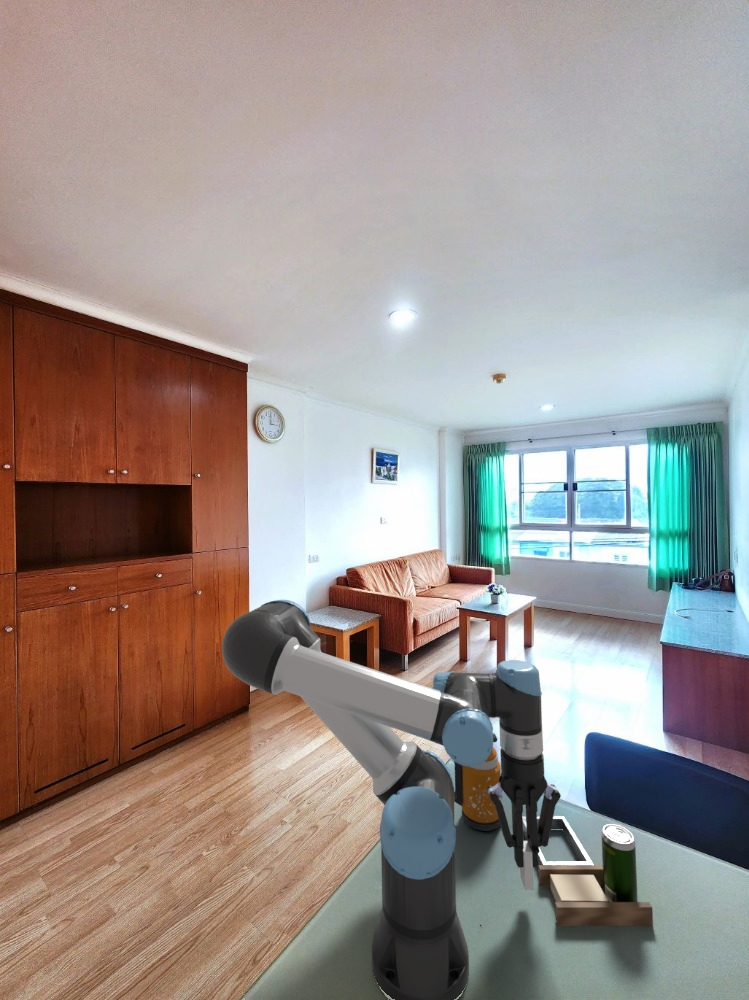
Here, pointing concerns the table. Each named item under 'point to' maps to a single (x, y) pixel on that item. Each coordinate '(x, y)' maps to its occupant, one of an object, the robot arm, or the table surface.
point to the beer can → (619, 864)
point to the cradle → (562, 823)
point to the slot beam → (595, 903)
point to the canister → (478, 792)
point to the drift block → (576, 888)
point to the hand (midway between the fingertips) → (526, 883)
